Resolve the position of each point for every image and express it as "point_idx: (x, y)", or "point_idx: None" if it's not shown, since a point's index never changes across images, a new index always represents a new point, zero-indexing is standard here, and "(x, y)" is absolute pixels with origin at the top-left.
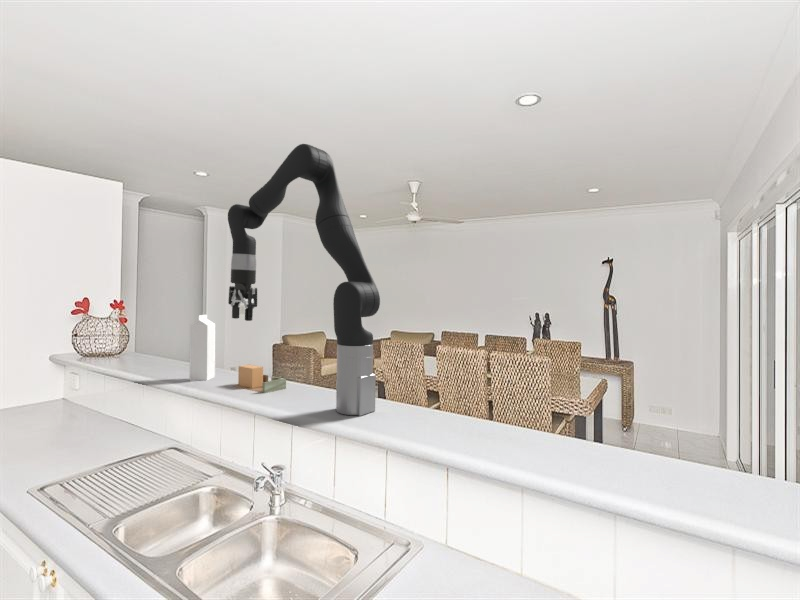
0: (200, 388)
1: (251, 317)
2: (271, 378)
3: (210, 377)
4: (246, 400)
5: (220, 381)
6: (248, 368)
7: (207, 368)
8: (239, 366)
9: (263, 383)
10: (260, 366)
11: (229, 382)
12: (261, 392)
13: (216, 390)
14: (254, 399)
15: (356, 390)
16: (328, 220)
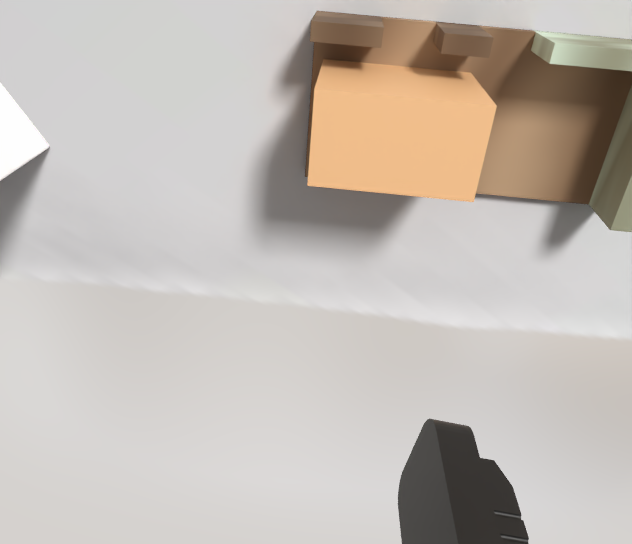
0: (197, 269)
1: (506, 497)
2: (547, 60)
3: (9, 109)
4: (587, 315)
5: (97, 93)
6: (425, 194)
7: (4, 170)
8: (318, 185)
9: (617, 228)
10: (463, 103)
11: (167, 82)
12: (579, 202)
13: (300, 258)
14: (611, 288)
15: None
16: None
